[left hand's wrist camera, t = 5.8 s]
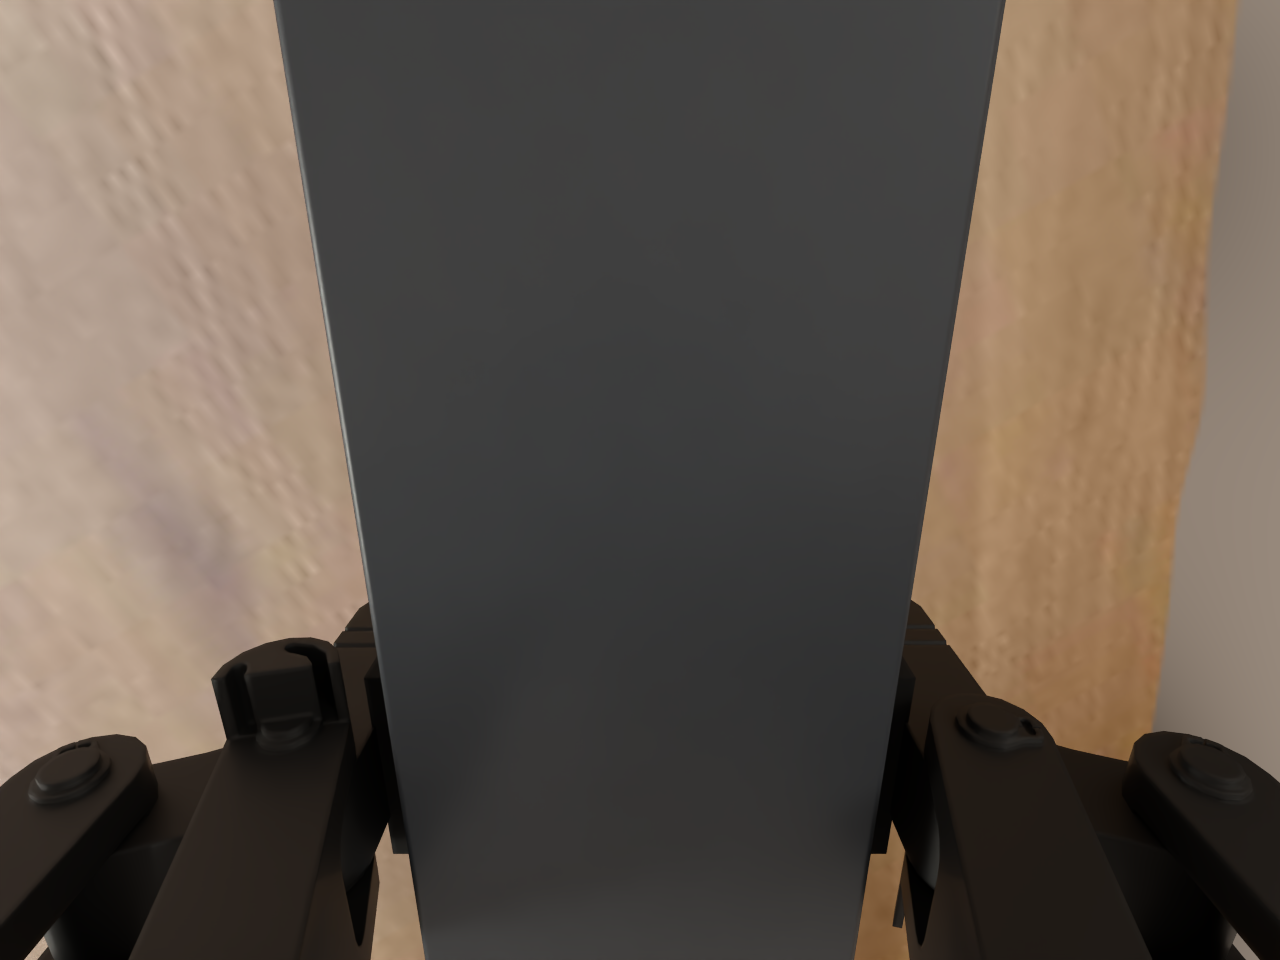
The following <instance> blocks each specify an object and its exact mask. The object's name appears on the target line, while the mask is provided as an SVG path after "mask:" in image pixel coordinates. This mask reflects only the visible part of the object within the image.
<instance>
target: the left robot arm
mask: <svg viewBox="0 0 1280 960" xmlns="http://www.w3.org/2000/svg"><path fill="white" fill-rule="evenodd" d="M211 681H212V684H213V688H214V692H215V696H216V700H217V704H218V707H219V711H220V715H221V719H222V723H223V726H224V730H225V734H226V738H227V740H226V743H225V745H224V747H223V748H222V749H218V750H215V751H211V752H208V753H203V754H199V755H194V756H189V757H185V758H180V759H176V760H171V761H166V762H162V763H157V764H153V765H152V763H151V760H150V757H149V754H148V751H147V747H146V745H144V744H143V743H142V742H141V741H140V740H138V739H137V738H136V737H131V736H125V735H118V734H115V735H107V736H99V737H91V738H88V739H84V740H80V741H78V742H76V743H75V742H73V743H71V744H68V745H65V746H62V747H60V748H58V749H57V750H55V751H53V752H51V753H49V754H47V755H45V756H43V757H41V758H39V759H37V760H35V761H33V762H32V763H31V764H29V765H28V766H26V767H25V768H24V769H22V770H21V771H19V772H18V773H17V774H15V775H14V776H12V777H11V778H10V779H9V780H8V781H6V782H5V783H4V784H3V785H2V786H1V787H0V960H24V959H25V958H26V957H27V956H28V954H29V953H30V952H31V951H32V950H33V948H34V947H35V946H36V945H37V944H38V942H39V941H40V940H41V939H42V938H43V936H44V938H45V940H46V942H47V945H48V947H47V949H46V950H45V951H44V952H43V954H42V955H41V956H40V957H39V958H38V960H370V959H371V951H372V942H373V934H374V925H375V917H376V908H377V900H378V891H379V875H378V867H377V862H376V856H375V851H376V849H377V847H378V844H379V842H380V840H381V837H382V835H383V833H384V830H385V828H386V825H387V823H388V825H389V831H390V837H391V843H392V849H393V854H409V853H408V847H407V840H406V834H405V828H404V821H403V815H402V809H401V802H400V796H399V790H398V784H397V777H396V771H395V765H394V758H393V752H392V746H391V739H390V733H389V727H388V720H387V714H386V708H385V701H384V695H383V689H382V683H381V676H380V670H379V664H378V657H377V651H376V645H375V638H374V632H373V626H372V619H371V613H370V607H369V602H368V603H367V604H365V605H364V606H362V607H361V608H359V610H358V611H357V612H356V614H355V615H354V616H353V618H352V619H351V621H350V622H349V623H348V625H347V626H346V627H345V631H342V633H341V634H340V636H339V637H338V638H337V640H336V641H335V642H334V646H333V645H332V644H330V643H329V642H328V641H324V640H320V639H315V638H311V637H310V638H288V639H283V640H278V641H274V642H269V643H265V644H263V645H260V646H258V647H255V648H253V649H250V650H248V651H245V652H243V653H241V654H240V655H238V656H237V657H235V658H234V659H232V660H230V661H229V662H227V663H226V664H224V665H223V666H222V667H221V668H220V670H219V671H218V672H217V673H216V674H215V675H214V676H213V678H212V679H211ZM892 821H893V823H894V825H895V828H896V830H897V832H898V835H899V837H900V840H901V842H902V844H903V847H904V849H905V856H904V862H903V867H902V873H901V878H900V884H899V889H898V895H897V900H896V906H895V912H894V919H893V926H894V927H899V928H902V925H903V920H904V915H905V924H906V932H907V941H908V949H909V958H910V960H1246V959H1245V958H1244V957H1243V956H1242V955H1241V954H1240V952H1239V951H1238V950H1237V949H1236V948H1235V946H1234V945H1233V944H1232V943H1233V941H1234V938H1235V936H1236V934H1237V933H1238V934H1239V935H1240V937H1241V938H1242V939H1243V940H1244V941H1245V943H1246V944H1247V945H1248V946H1249V947H1250V948H1251V950H1252V951H1253V952H1254V953H1255V954H1256V956H1257V957H1258V958H1259V959H1260V960H1280V783H1279V782H1278V781H1277V780H1276V779H1275V778H1274V777H1272V776H1271V775H1270V774H1269V773H1267V772H1266V771H1264V770H1263V769H1262V768H1260V767H1259V766H1257V765H1256V764H1255V763H1253V762H1252V761H1250V760H1249V759H1248V758H1246V757H1245V756H1242V755H1240V754H1238V753H1236V752H1234V751H1232V750H1230V749H1228V748H1226V747H1224V746H1223V745H1221V744H1219V743H1216V742H1213V741H1210V740H1208V739H1202V738H1201V737H1197V736H1193V735H1190V734H1183V733H1175V732H1167V731H1161V732H1155V733H1148V734H1144V735H1143V736H1142V737H1141V738H1139V739H1138V740H1137V741H1136V742H1135V743H1134V745H1133V749H1132V752H1131V755H1130V758H1129V761H1123V760H1118V759H1114V758H1109V757H1104V756H1100V755H1095V754H1091V753H1086V752H1081V751H1077V750H1072V749H1069V748H1065V747H1062V746H1058V745H1056V744H1055V741H1054V739H1053V738H1052V736H1051V735H1050V733H1049V732H1048V731H1047V729H1046V728H1045V727H1044V725H1043V724H1042V723H1041V722H1040V721H1038V720H1037V719H1036V718H1034V717H1033V716H1032V715H1030V714H1029V713H1028V712H1026V711H1025V710H1024V709H1021V708H1019V707H1017V706H1015V705H1013V704H1011V703H1009V702H1006V701H1004V700H1002V699H998V698H994V697H990V696H986V694H985V693H984V691H983V690H982V689H981V687H980V686H979V685H978V683H977V682H976V681H975V679H974V678H973V677H972V675H971V674H970V672H969V671H968V670H967V668H966V667H965V666H964V664H963V663H962V662H961V660H960V659H959V658H958V656H957V655H956V654H955V652H954V651H953V649H952V648H951V647H950V645H947V644H946V640H945V639H944V637H943V636H942V635H941V633H940V632H939V630H938V629H935V625H934V624H933V622H932V621H931V620H930V618H929V617H928V616H927V614H926V613H925V612H924V610H923V609H922V607H921V606H919V605H918V604H916V603H915V602H913V601H912V600H911V602H910V608H909V614H908V621H907V627H906V633H905V640H904V646H903V652H902V659H901V665H900V671H899V678H898V684H897V690H896V697H895V703H894V709H893V716H892V722H891V728H890V735H889V741H888V747H887V754H886V760H885V766H884V772H883V779H882V785H881V791H880V798H879V804H878V810H877V817H876V823H875V829H874V836H873V842H872V848H871V854H886V852H887V846H888V840H889V834H890V829H891V823H892Z"/></svg>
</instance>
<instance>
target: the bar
mask: <svg viewBox="0 0 1280 960" xmlns="http://www.w3.org/2000/svg"><path fill="white" fill-rule="evenodd" d="M273 1H274V7H275V14H276V20H277V26H278V32H279V39H280V45H281V51H282V58H283V64H284V70H285V77H286V83H287V89H288V96H289V102H290V108H291V115H292V121H293V127H294V133H295V140H296V146H297V152H298V159H299V165H300V171H301V178H302V184H303V190H304V197H305V203H306V209H307V215H308V222H309V228H310V234H311V241H312V247H313V253H314V260H315V266H316V272H317V279H318V285H319V291H320V298H321V304H322V310H323V316H324V323H325V329H326V335H327V342H328V348H329V354H330V361H331V367H332V373H333V380H334V386H335V392H336V399H337V405H338V411H339V417H340V424H341V430H342V436H343V443H344V449H345V455H346V462H347V468H348V474H349V481H350V487H351V493H352V500H353V506H354V512H355V518H356V525H357V531H358V537H359V544H360V550H361V556H362V563H363V569H364V575H365V582H366V588H367V594H368V601H369V607H370V613H371V619H372V626H373V632H374V638H375V645H376V651H377V657H378V664H379V670H380V676H381V683H382V689H383V695H384V701H385V708H386V714H387V720H388V727H389V733H390V739H391V746H392V752H393V758H394V765H395V771H396V777H397V784H398V790H399V796H400V802H401V809H402V815H403V821H404V828H405V834H406V840H407V847H408V853H409V859H410V866H411V872H412V878H413V885H414V891H415V897H416V903H417V910H418V916H419V922H420V929H421V935H422V941H423V948H424V954H425V960H854V956H855V950H856V943H857V937H858V931H859V924H860V918H861V912H862V905H863V899H864V893H865V886H866V880H867V874H868V867H869V861H870V855H871V848H872V842H873V836H874V829H875V823H876V817H877V810H878V804H879V798H880V791H881V785H882V779H883V772H884V766H885V760H886V754H887V747H888V741H889V735H890V728H891V722H892V716H893V709H894V703H895V697H896V690H897V684H898V678H899V671H900V665H901V659H902V652H903V646H904V640H905V633H906V627H907V621H908V614H909V608H910V602H911V595H912V589H913V583H914V576H915V570H916V564H917V557H918V551H919V545H920V538H921V532H922V526H923V520H924V513H925V507H926V501H927V494H928V488H929V482H930V475H931V469H932V463H933V456H934V450H935V444H936V437H937V431H938V425H939V418H940V412H941V406H942V399H943V393H944V387H945V380H946V374H947V368H948V361H949V355H950V349H951V342H952V336H953V330H954V323H955V317H956V311H957V305H958V298H959V292H960V286H961V279H962V273H963V267H964V260H965V254H966V248H967V241H968V235H969V229H970V222H971V216H972V210H973V203H974V197H975V191H976V184H977V178H978V172H979V165H980V159H981V153H982V146H983V140H984V134H985V127H986V121H987V115H988V108H989V102H990V96H991V89H992V83H993V77H994V71H995V64H996V58H997V52H998V45H999V39H1000V33H1001V26H1002V20H1003V14H1004V7H1005V1H1006V0H273Z"/></svg>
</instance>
